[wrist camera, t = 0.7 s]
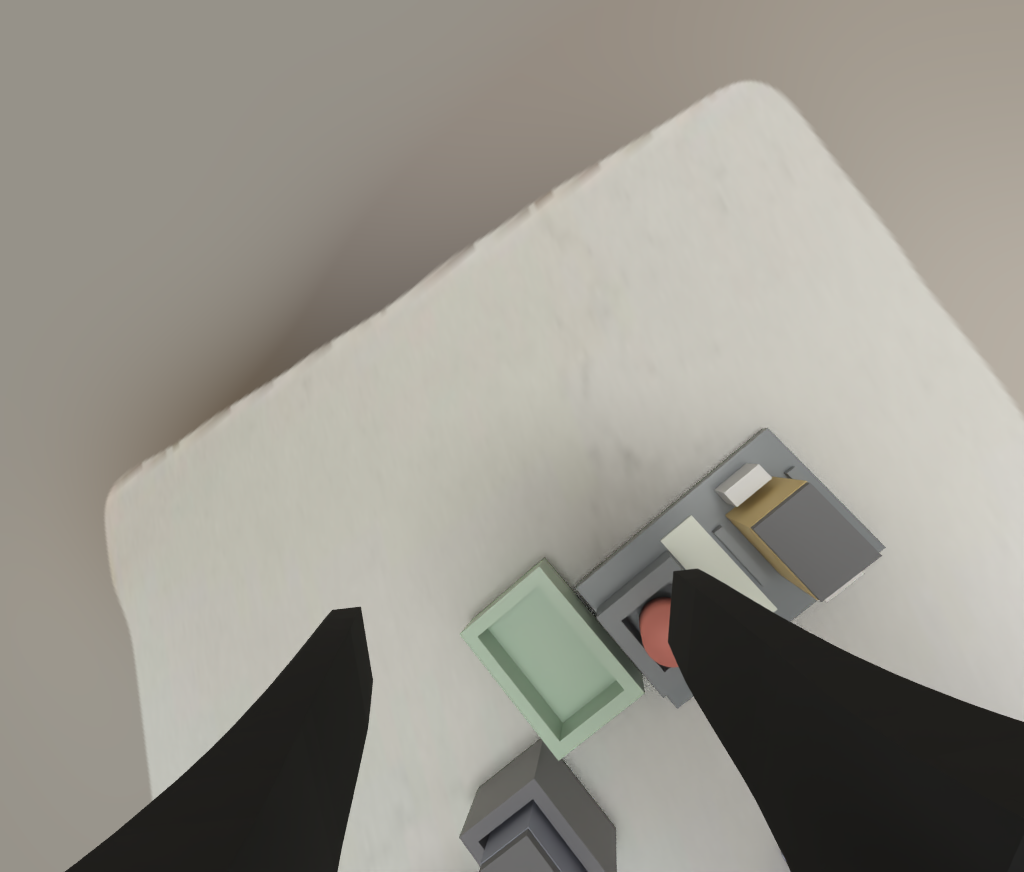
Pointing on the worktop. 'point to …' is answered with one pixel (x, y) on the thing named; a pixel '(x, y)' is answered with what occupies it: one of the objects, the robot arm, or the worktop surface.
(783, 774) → the robot arm
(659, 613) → the test button
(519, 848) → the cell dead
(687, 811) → the worktop surface
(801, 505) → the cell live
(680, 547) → the cradle
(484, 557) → the worktop surface
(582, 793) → the bin
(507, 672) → the trough
